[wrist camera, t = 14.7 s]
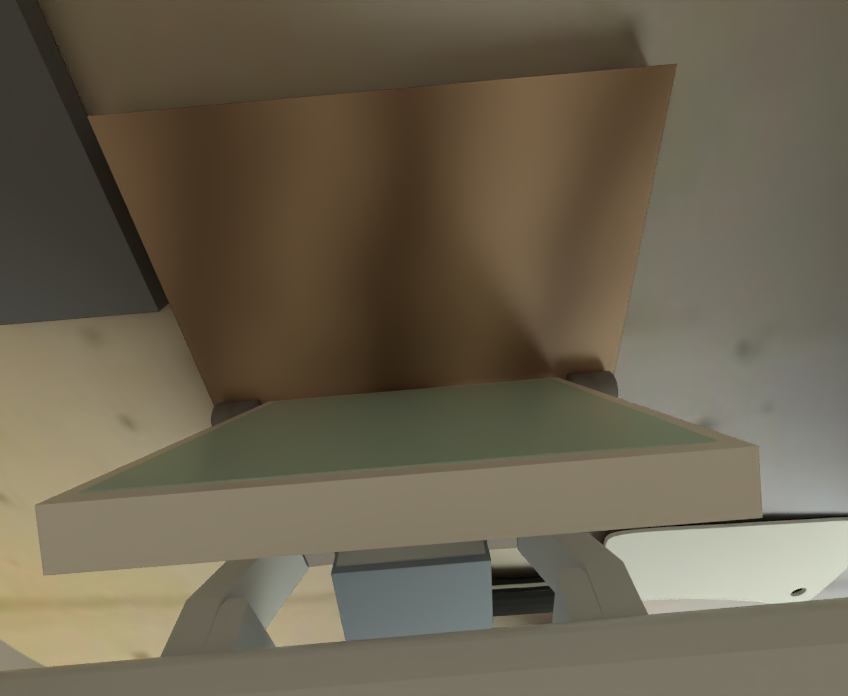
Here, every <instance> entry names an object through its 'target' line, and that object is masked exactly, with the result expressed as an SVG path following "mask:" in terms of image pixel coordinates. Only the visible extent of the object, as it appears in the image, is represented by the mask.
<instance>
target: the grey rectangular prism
mask: <svg viewBox="0 0 848 696" xmlns="http://www.w3.org/2000/svg"><path fill="white" fill-rule="evenodd" d="M331 576H332V580H333V585H334V590H335V594H336V599H337V603H338V608H339V612H340V617H341V622H342V626H343V631H344V635H345V640H346V641H353V640H364V639H375V638H387V637H398V636H410V635H421V634H432V633H444V632H456V631H467V630H479V629H490V628H493V610H492V575H491V558H490V553H489V549H488V544H486V540H480V541H467V542H455V543H442V544H430V545H417V546H405V547H393V548H380V549H368V550H355V551H343V552H336V554H335V558H334V563H333V568H332V572H331Z"/></svg>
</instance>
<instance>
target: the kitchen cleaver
mask: <svg viewBox="0 0 848 696" xmlns="http://www.w3.org/2000/svg"><path fill="white" fill-rule="evenodd" d="M603 545H604V546H605V547H606V548H607V549H608V550H610V551H611V552H612V553H613V554H615V555H616V556H617V557H618V558H619V559H621V560H622V561H623V562H624V564H625V567H626V569H627V571H628V573H629V575H630V577H631V579H632V581H633V584H634V586H635V588H636V590H637V592H638V594H639V596H640V598H641V600H663V599H723V600H743V601H755V602H764V603H771V604H777V603H789V602H800V601H808V600H810V599H812V598H813V597H814V596H816V595H817V594H818V593H819V592H820V591H822V590H823V589H824V588H825V587H826V586H827V585H829V584H830V583H831V582H832V581H833V580H834V579H835V578H836V577H837V576H839V575H840V574H841V573H842V572H843V571H844V570H845V569H846V568H847V567H848V517H838V518H820V519H803V520H785V521H767V522H750V523H734V524H715V525H695V526H675V527H659V528H645V529H634V530H625V531H618V532H614V533H611V534H609V535H607V537H606V538H605V541H604V544H603ZM800 588H803V589H802V590H800V591H798V592H796V593H792V592H793V591H795V590H797V589H800ZM554 599H555V592H554V591H553V590H552V589H551V588H550V587H549V585H548V584H547V583H546V582H545V581H544V580H543V578H542V577H540V578H526V579H509V580H492V610H493V616H505V615H520V614H535V613H549V612H553V608H554Z"/></svg>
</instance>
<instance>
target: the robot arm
mask: <svg viewBox="0 0 848 696" xmlns="http://www.w3.org/2000/svg"><path fill="white" fill-rule="evenodd" d="M486 544H488V549H505V548H518V550H519V552H520V553H521V554H522V555H523V556H524V557H525V559H526V560H527V561H528V562H529V563H530V564H531V566H532V567H533V568H534V569H535V570H536V571H537V573H538V574H539V575H540V576H541V577H542V578H543V580H544V581H545V582H546V583H547V584H548V585H549V587H550V588H551V589H552V590H553V591H554V592H555V599H554V608H553V616H552V623H548V624H536V625H525V626H513V627H502V628H490V629H479V630H467V631H456V632H444V633H432V634H421V635H410V636H398V637H387V638H375V639H364V640H353V641H341V642H330V643H319V644H307V645H296V646H284V647H276V646H275V645H274V643H273V641H272V640H271V638H270V637H269V635H268V633H267V632H266V630H265V629H266V628H267V627H268V625H269V624H270V622H271V621H272V620H273V618H274V617H275V615H276V614H277V612H278V611H279V610H280V608H281V607H282V605H283V604H284V603H285V601H286V600H287V598H288V597H289V596H290V594H291V593H292V591H293V590H294V589H295V587H296V586H297V584H298V583H299V581H300V580H301V579H302V577H303V576H304V574H305V573H306V572H307V570H308V567H313V566H321V565H329V564H333V563H334V558H335V554H336V552H330V553H318V554H305V555H293V556H280V557H268V558H255V559H243V560H230V561H226V562H225V563H224V564H223V565H222V566H221V567H220V568H219V569H218V570H217V571H216V572H215V573H214V574H213V575H212V576H211V577H210V578H209V579H208V580H207V581H206V582H205V583H204V584H203V585H202V586H201V587H200V588H199V589H198V590H197V591H196V592H195V593H194V594H193V595H192V596H191V597H190V598H188V599H187V600H186V602H185V605H184V607H183V609H182V611H181V613H180V615H179V618H178V620H177V622H176V624H175V626H174V628H173V631H172V633H171V635H170V637H169V639H168V641H167V644H166V646H165V648H164V650H163V652H162V654H161V657H158V658H146V659H135V660H123V661H111V662H100V663H88V664H76V665H65V666H53V667H42V668H30V669H18V670H7V671H0V696H848V597H846V598H834V599H823V600H812V601H800V602H789V603H777V604H766V605H754V606H743V607H731V608H720V609H708V610H697V611H685V612H674V613H663V614H651V615H648V613H647V611H646V609H645V607H644V605H643V603H642V600H641V598H640V596H639V594H638V592H637V590H636V588H635V586H634V584H633V581H632V579H631V577H630V575H629V573H628V571H627V569H626V567H625V564H624V562H623V561H622V560H621V559H619V558H618V557H617V556H616V555H615V554H613V553H612V552H611V551H610V550H608V549H607V548H606V547H605V546H604V545H602V544H601V543H600V542H599V541H598V540H596V539H595V538H594V537H593V536H591V535H590V534H589V533H588V532H580V533H567V534H555V535H542V536H530V537H517V538H505V539H492V540H486Z"/></svg>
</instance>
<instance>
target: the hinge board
mask: <svg viewBox="0 0 848 696" xmlns="http://www.w3.org/2000/svg"><path fill="white" fill-rule="evenodd" d="M676 66H677V64H669V65H657V66H646V67H635V68H624V69H612V70H601V71H590V72H578V73H567V74H556V75H545V76H533V77H522V78H511V79H500V80H488V81H477V82H466V83H454V84H443V85H432V86H421V87H409V88H398V89H387V90H376V91H364V92H353V93H342V94H331V95H319V96H308V97H297V98H285V99H274V100H263V101H252V102H240V103H229V104H218V105H207V106H195V107H184V108H173V109H161V110H150V111H139V112H128V113H116V114H105V115H94V116H87V117H88V119H89V122H90V124H91V126H92V129H93V131H94V133H95V135H96V138H97V140H98V142H99V144H100V147H101V149H102V151H103V154H104V156H105V158H106V160H107V163H108V165H109V167H110V170H111V172H112V174H113V176H114V179H115V181H116V183H117V185H118V188H119V190H120V192H121V195H122V197H123V199H124V201H125V204H126V206H127V208H128V210H129V213H130V215H131V217H132V220H133V222H134V224H135V226H136V229H137V231H138V233H139V236H140V238H141V240H142V242H143V245H144V247H145V249H146V251H147V254H148V256H149V258H150V261H151V263H152V265H153V267H154V270H155V272H156V274H157V276H158V279H159V281H160V283H161V286H162V288H163V290H164V292H165V295H166V297H167V299H168V301H169V304H170V306H171V308H172V311H173V313H174V315H175V317H176V320H177V322H178V324H179V327H180V329H181V331H182V333H183V336H184V338H185V340H186V342H187V345H188V347H189V349H190V352H191V354H192V356H193V358H194V361H195V363H196V365H197V367H198V370H199V372H200V374H201V377H202V379H203V381H204V383H205V386H206V388H207V390H208V392H209V395H210V397H211V399H212V402H213V404H214V406H215V407H214V409H213V412H212V417H211V424H212V427H213V426H215V425H217V424H219V423H222V422H224V421H226V420H228V419H231V418H233V417H235V416H237V415H240V414H242V413H244V412H246V411H249V410H251V409H253V408H255V407H258V406H260V405H262V404H264V403H267V402H269V401H280V400H292V399H304V398H316V397H328V396H340V395H352V394H364V393H376V392H388V391H400V390H412V389H424V388H436V387H448V386H460V385H473V384H485V383H497V382H509V381H521V380H533V379H545V378H557V377H558V378H561V379H564V380H567V381H570V382H573V383H576V384H579V385H582V386H584V387H587V388H590V389H593V390H596V391H599V392H602V393H605V394H608V395H611V396H614V397H618V387H617V382H616V379H615V377H614V371H615V366H616V361H617V356H618V351H619V346H620V341H621V337H622V332H623V327H624V322H625V317H626V312H627V307H628V302H629V297H630V292H631V287H632V282H633V277H634V273H635V268H636V263H637V258H638V253H639V248H640V243H641V238H642V233H643V228H644V223H645V218H646V214H647V209H648V204H649V199H650V194H651V189H652V184H653V179H654V174H655V169H656V164H657V159H658V154H659V150H660V145H661V140H662V135H663V130H664V125H665V120H666V115H667V110H668V105H669V100H670V95H671V91H672V86H673V81H674V76H675V71H676Z"/></svg>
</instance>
